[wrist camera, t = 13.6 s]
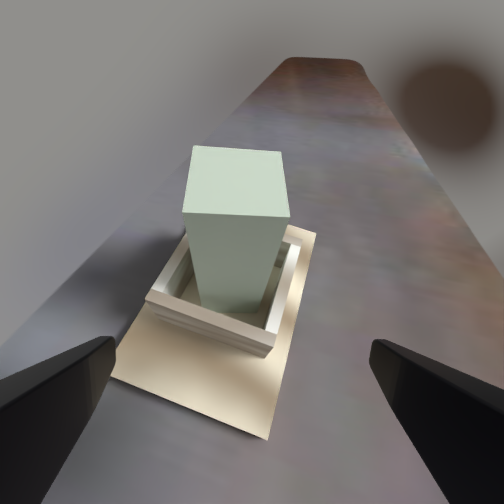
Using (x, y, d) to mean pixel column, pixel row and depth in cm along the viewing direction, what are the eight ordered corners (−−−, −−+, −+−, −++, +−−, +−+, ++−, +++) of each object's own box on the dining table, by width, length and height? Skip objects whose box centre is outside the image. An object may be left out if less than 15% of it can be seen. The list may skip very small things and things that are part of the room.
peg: (256, 313, 20) (290, 217, 10) (202, 312, 20) (182, 212, 10) (255, 266, 23) (280, 152, 13) (206, 265, 22) (193, 145, 12)
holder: (265, 438, 17) (279, 448, 12) (107, 374, 18) (72, 363, 14) (313, 239, 26) (330, 206, 22) (209, 205, 27) (207, 168, 23)
